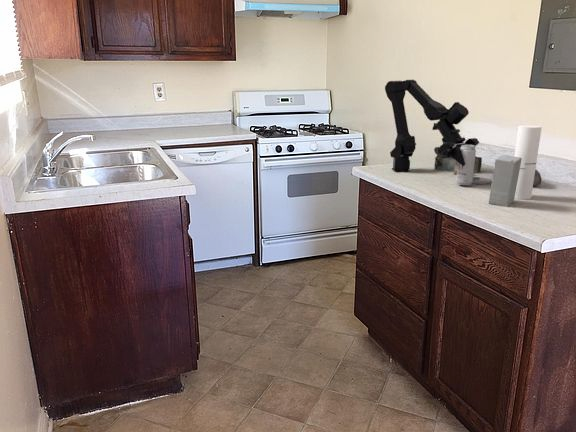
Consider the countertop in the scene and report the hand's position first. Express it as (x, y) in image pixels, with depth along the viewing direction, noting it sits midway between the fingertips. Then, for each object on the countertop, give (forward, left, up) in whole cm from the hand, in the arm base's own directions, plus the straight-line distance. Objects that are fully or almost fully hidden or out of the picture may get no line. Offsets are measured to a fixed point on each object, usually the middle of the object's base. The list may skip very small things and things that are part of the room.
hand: (469, 164), depth 185 cm
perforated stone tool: (+25, +1, -9) cm, 27 cm away
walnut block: (+5, +19, -9) cm, 22 cm away
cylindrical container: (+12, -17, -9) cm, 23 cm away
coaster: (+7, +7, -9) cm, 13 cm away
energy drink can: (-1, +1, -8) cm, 8 cm away
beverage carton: (+8, +30, -9) cm, 32 cm away
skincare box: (+2, -24, -9) cm, 25 cm away
